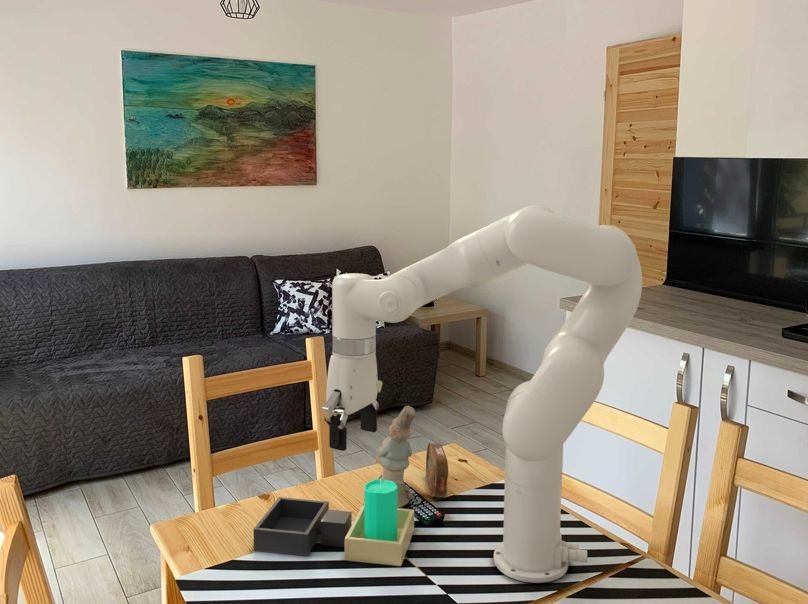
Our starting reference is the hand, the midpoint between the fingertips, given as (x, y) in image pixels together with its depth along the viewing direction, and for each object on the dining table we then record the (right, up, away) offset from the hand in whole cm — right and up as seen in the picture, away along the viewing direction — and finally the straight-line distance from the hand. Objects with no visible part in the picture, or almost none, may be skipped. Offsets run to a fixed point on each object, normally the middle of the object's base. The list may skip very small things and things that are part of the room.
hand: (353, 439), depth 126 cm
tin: (+15, -17, +24) cm, 33 cm away
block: (-3, -19, +3) cm, 19 cm away
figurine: (+6, -17, +18) cm, 26 cm away
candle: (+5, -19, +1) cm, 20 cm away
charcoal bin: (-12, -19, +4) cm, 22 cm away
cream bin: (+5, -19, +1) cm, 20 cm away
